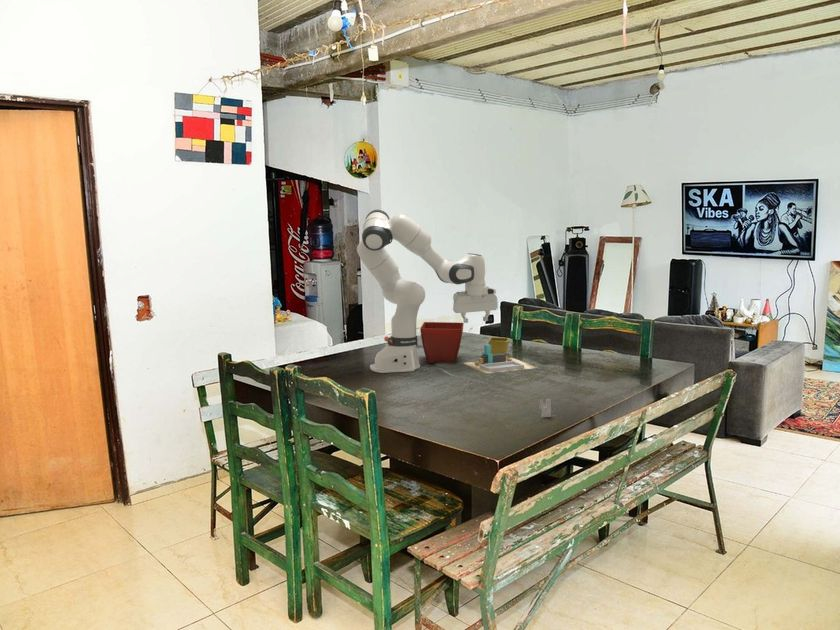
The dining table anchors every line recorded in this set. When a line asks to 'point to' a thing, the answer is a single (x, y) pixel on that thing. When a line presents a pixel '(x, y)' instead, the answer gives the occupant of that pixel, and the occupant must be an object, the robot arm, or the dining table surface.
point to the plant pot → (441, 340)
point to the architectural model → (546, 411)
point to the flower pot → (499, 345)
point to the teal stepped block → (488, 353)
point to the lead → (496, 358)
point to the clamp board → (477, 366)
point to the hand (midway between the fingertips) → (475, 321)
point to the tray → (501, 366)
